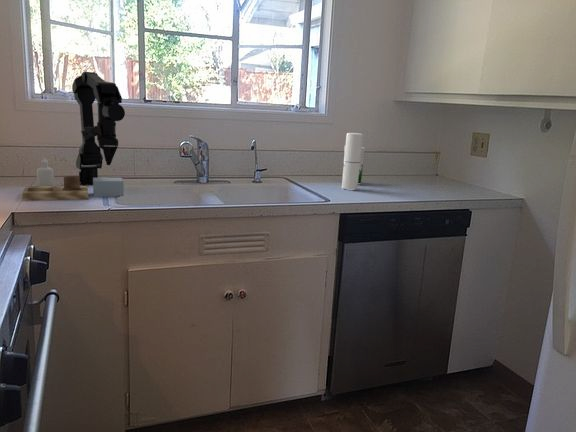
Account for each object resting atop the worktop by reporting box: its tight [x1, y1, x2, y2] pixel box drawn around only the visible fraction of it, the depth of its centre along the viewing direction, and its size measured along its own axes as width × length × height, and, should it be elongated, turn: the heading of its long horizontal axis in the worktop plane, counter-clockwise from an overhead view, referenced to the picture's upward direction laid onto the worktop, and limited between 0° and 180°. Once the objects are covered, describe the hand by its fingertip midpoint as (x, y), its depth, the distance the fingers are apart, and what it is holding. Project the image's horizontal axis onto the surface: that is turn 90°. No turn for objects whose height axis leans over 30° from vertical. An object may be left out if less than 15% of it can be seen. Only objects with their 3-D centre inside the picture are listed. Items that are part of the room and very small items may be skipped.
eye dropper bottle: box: [36, 156, 55, 186], centre depth 179 cm, size 4×6×12 cm
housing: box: [92, 177, 125, 198], centre depth 179 cm, size 10×7×6 cm
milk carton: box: [341, 145, 366, 183], centre depth 236 cm, size 9×9×20 cm
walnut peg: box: [63, 175, 81, 191], centre depth 172 cm, size 5×4×7 cm
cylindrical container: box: [341, 132, 364, 190], centre depth 219 cm, size 7×7×25 cm
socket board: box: [21, 185, 89, 202], centre depth 171 cm, size 20×12×2 cm, turn 113°
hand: (107, 163), depth 176 cm, fingers open, 9 cm apart
